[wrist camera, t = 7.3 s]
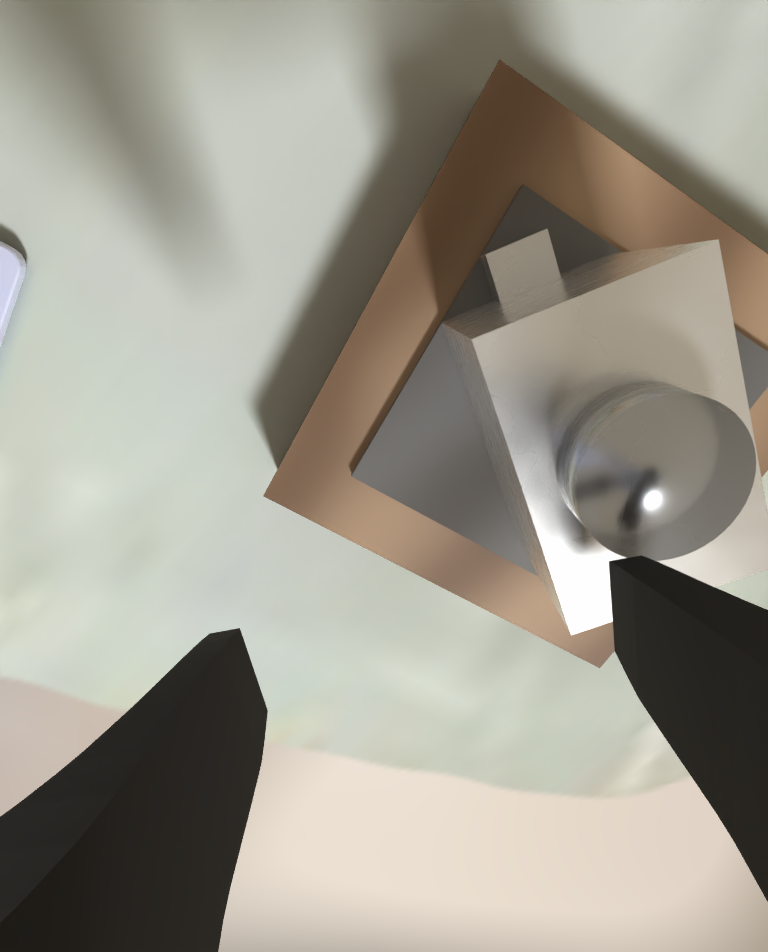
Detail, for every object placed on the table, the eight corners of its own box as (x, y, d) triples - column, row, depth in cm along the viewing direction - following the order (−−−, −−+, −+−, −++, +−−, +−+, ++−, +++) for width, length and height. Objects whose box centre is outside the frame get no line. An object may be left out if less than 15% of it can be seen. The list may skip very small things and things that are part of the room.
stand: (277, 470, 19) (261, 499, 16) (480, 93, 15) (502, 54, 13) (575, 625, 21) (603, 673, 19) (813, 329, 18) (890, 337, 15)
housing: (528, 569, 17) (605, 713, 12) (426, 278, 14) (459, 274, 9) (671, 519, 17) (827, 644, 11) (594, 207, 14) (751, 151, 8)
